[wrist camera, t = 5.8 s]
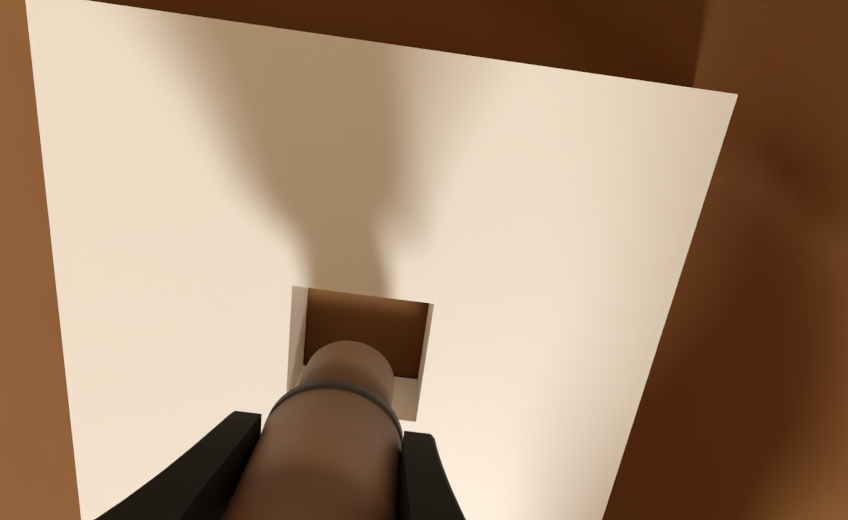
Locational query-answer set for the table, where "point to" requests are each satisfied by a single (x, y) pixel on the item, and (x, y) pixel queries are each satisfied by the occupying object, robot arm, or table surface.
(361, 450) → the walnut peg
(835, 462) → the table surface
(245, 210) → the cream board
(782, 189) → the table surface
